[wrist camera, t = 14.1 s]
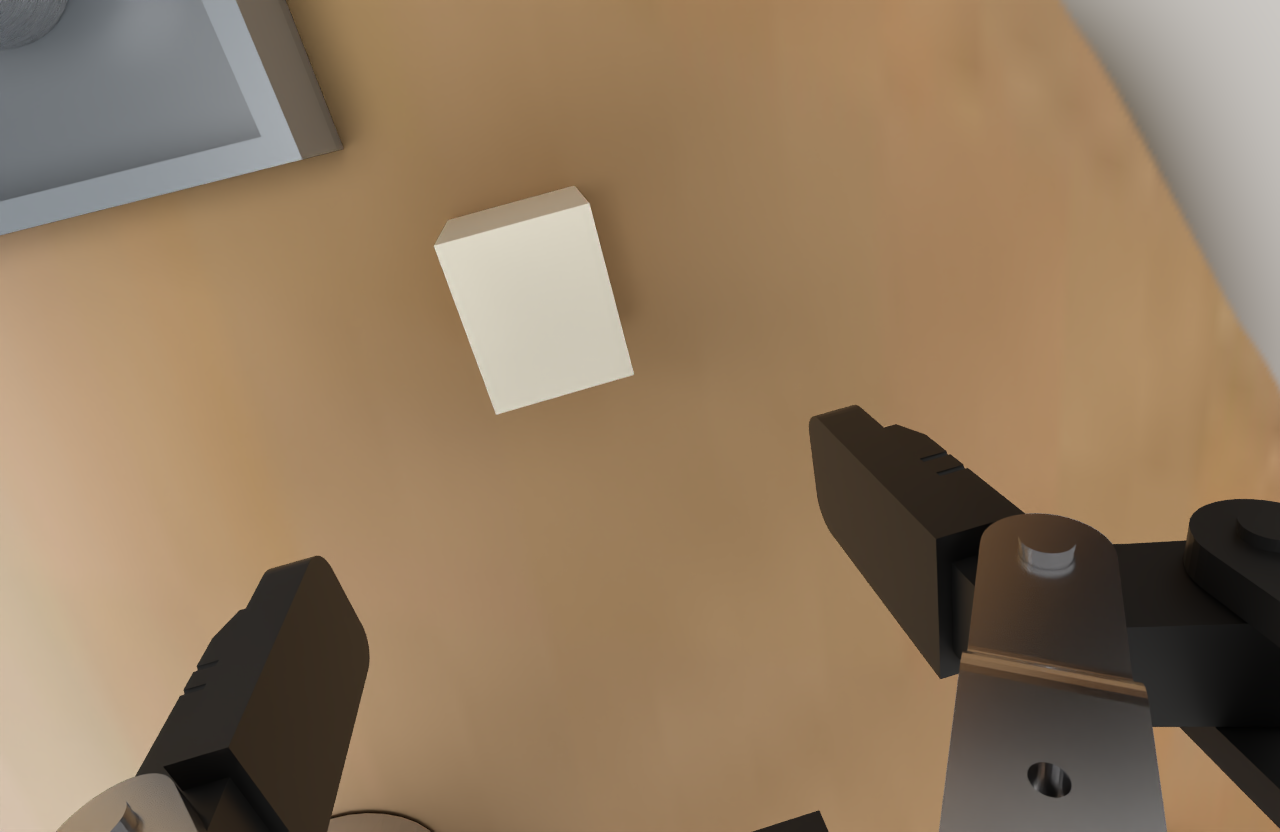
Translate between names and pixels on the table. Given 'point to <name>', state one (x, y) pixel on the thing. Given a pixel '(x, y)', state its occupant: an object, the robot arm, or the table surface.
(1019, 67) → the table surface
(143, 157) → the tote
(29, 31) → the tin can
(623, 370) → the cream box
